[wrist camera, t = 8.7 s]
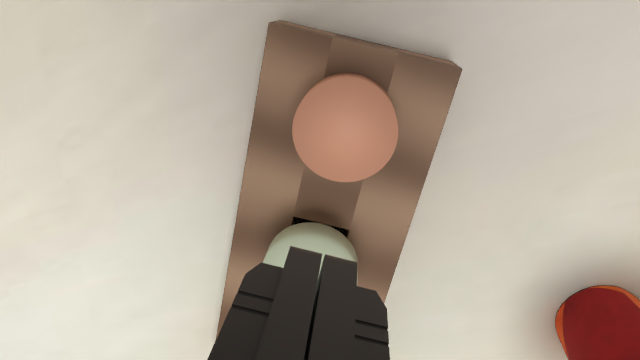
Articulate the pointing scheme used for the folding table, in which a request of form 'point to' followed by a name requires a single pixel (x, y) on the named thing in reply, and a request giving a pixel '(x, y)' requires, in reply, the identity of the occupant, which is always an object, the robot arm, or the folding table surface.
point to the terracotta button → (345, 128)
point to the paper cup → (600, 324)
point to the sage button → (310, 243)
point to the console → (323, 194)
